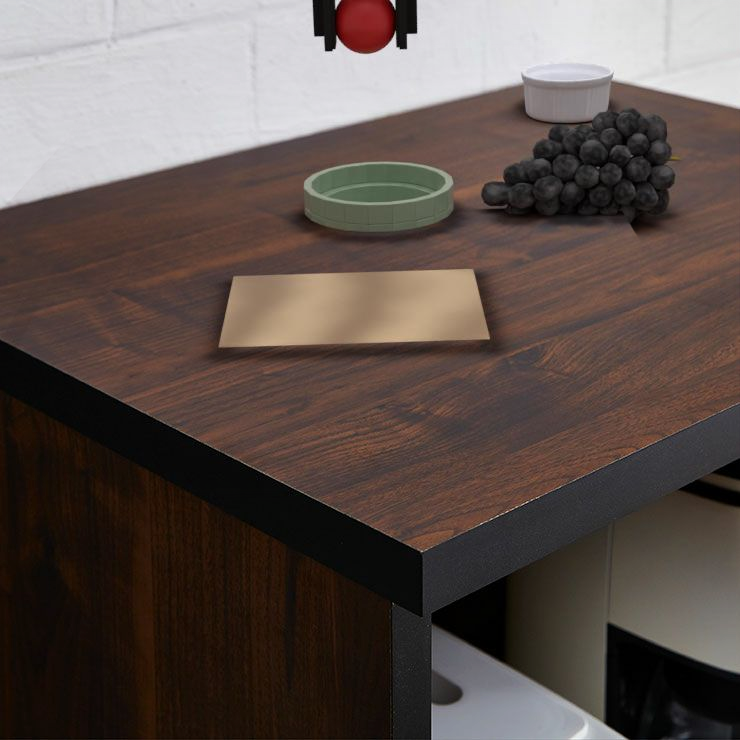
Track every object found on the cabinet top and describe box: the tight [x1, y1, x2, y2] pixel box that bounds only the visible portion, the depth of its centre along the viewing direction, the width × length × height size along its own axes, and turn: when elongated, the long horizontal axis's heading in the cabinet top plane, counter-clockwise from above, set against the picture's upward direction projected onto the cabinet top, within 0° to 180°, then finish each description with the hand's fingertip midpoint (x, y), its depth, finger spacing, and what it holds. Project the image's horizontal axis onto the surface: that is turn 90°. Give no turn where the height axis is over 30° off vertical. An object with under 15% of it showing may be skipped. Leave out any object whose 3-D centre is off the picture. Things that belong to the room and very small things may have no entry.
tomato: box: [335, 0, 396, 55], centre depth 91 cm, size 4×4×4 cm
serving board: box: [218, 268, 491, 349], centre depth 87 cm, size 16×12×2 cm
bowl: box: [303, 161, 455, 233], centre depth 105 cm, size 11×11×4 cm
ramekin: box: [520, 61, 615, 124], centre depth 135 cm, size 9×9×4 cm
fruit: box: [480, 107, 683, 224], centre depth 104 cm, size 9×8×15 cm
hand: (366, 43), depth 92 cm, fingers closed on tomato, 4 cm apart
